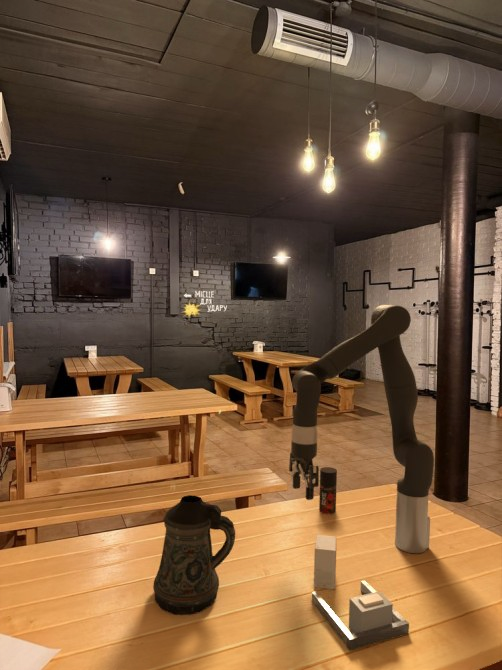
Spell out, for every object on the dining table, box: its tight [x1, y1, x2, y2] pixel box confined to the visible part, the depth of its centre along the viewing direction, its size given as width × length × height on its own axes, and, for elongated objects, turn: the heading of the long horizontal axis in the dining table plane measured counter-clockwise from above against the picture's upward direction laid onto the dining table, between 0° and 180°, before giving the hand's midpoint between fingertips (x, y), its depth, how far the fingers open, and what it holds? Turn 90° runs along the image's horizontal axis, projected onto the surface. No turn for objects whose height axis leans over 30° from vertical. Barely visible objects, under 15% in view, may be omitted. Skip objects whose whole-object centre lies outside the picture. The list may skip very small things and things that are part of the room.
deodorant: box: [318, 466, 338, 515], centre depth 165 cm, size 6×6×15 cm
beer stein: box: [152, 495, 236, 616], centre depth 116 cm, size 16×19×25 cm
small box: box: [313, 534, 337, 590], centre depth 123 cm, size 8×6×10 cm
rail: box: [311, 580, 410, 652], centre depth 108 cm, size 15×17×2 cm
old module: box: [348, 590, 394, 634], centre depth 104 cm, size 8×5×8 cm, turn 110°
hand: (302, 493), depth 135 cm, fingers open, 8 cm apart
